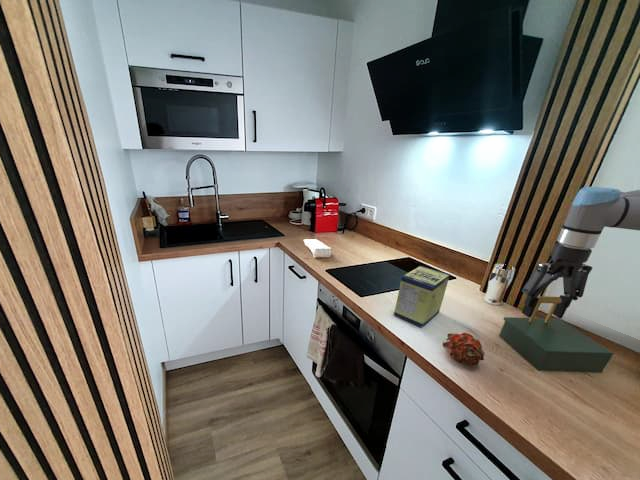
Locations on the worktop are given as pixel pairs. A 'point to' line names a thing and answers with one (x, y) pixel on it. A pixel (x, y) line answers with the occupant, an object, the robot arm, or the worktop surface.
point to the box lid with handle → (555, 333)
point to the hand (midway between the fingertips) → (541, 315)
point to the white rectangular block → (318, 248)
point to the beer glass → (498, 284)
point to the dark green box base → (551, 355)
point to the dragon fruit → (465, 348)
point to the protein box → (421, 295)
